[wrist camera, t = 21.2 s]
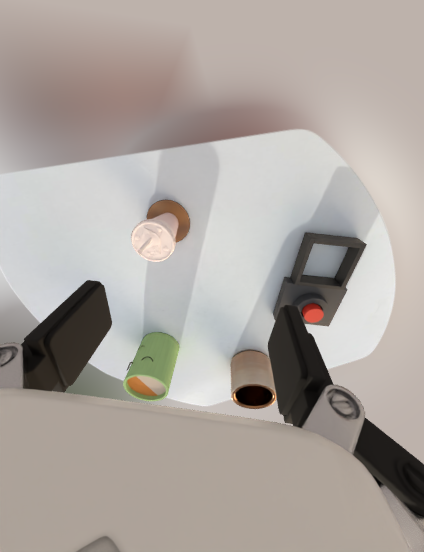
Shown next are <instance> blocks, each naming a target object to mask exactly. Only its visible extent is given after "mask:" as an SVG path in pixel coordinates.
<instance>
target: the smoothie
mask: <svg viewBox="0 0 424 552" xmlns="http://www.w3.org/2000/svg"><path fill="white" fill-rule="evenodd" d="M178 225H179V223H178V219H177V218H176V216H175V215H173V214H171V213H164V214H161V215H159V216H157V217H155V218H153V219H147V220H143V221H141V222H140V223H139V224H138V225H137V226H136V227H135V228H134V229H133V231H132V235H131V241H132V245H133V247H134V249H135V251H136V252H137V253H138V254H139V255H140V256H141V257H143V258H145V259H147V260H149V261H154V262H158V261H163V260H165V259H167V258H168V257H169V256H170V255H171V254H172V252H173V251H174V249H175V245H176V244H175V237H176V233H177V229H178Z"/></svg>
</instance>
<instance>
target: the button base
mask: <svg viewBox="0 0 424 552" xmlns="http://www.w3.org/2000/svg"><path fill="white" fill-rule="evenodd" d="M346 291H347V288H346V287H345V289H344V290H337V289H328V288H319V287H310V286H301V285H294V283H293V281H292V279H291V278H287V277H284V280H283V284H282V287H281V290H280V293H279V296H278V300H277V303H276V306H275V309H274V312H273V315H274V319H275V320H276V318H277V316H278V313H279V310H280V308H281V307H284V305H292V306H297V307H298V310H299V312H300V315H301V317H302V320H303V322H304V324H313V325H322V326H329V325H330V323H331V321H332V319H333V317H334V315H335V313H336V311H337V309H338V307H339V305H340V303H341V301H342V299H343V297H344V295H345V293H346ZM311 303H315V304H318V305H319V306H320V308H321V309H322V311H323V313H324V316H323V318H322V319H321V320H320V321H318V322H314V323H311V322H308V321H306V320H305V318H304V316H303V313H302V309H303V307H304V306H306V305H308V304H311Z"/></svg>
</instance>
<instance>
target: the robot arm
mask: <svg viewBox="0 0 424 552" xmlns="http://www.w3.org/2000/svg"><path fill="white" fill-rule="evenodd" d="M111 325H112V320H111V315H110V311H109V306H108V302H107V297H106V292H105V288H104V285H102V284H101V283H100V282H99V281H91V280H87V281H86V282H85V283H84V284H83V285H82V286H80V287H79V288H78V289H77V290H76V291H75V292H74V293H73V294H72V295H71V296H70V297H69V298H68V299H66V300H65V301H64V302H63V303H62V304H61V305H60V306H59V307H58V308H57V309H56V310H55V311H53V312H52V313H51V314H50V315H49V316H48V317H47V318H46V319H45V320H44V321H43V322H42V323H41V324H39V325H38V326H37V327H36V328H35V329H34V330H33V331H32V332H31V333H30V334H29V335H28V336H27V337H26V338H24V340H25V341H24V342H23V343H22V344H21V345H20V344H19V343H15V342H13V343H4V344H0V552H424V464H423V463H421V462H420V461H419V460H418V459H417V458H415V457H414V456H413V455H412V454H410V453H409V452H408V451H406V450H405V449H404V448H403V447H401V446H400V445H399V444H398V443H396V442H395V441H394V440H393V439H391V438H390V437H389V436H387V435H386V434H385V433H384V432H382V431H381V430H380V429H379V428H378V427H376V426H375V425H374V424H372V423H371V422H370V421H369V420H368V419H366V418H365V411H364V408H363V406H362V404H361V402H360V401H359V399H358V398H357V397H356V396H355V395H354V394H353V393H352V392H350V391H349V390H347V389H346V388H344V387H342V386H338V385H333V382H332V380H331V378H330V376H329V373H328V370H327V368H326V366H325V363H324V361H323V359H322V356H321V354H320V352H319V349H318V347H317V344H316V342H315V340H314V337H313V336H312V334H310V333H308V332H307V329H306V327H305V324H304V322H303V320H302V317H301V315H300V312H299V310H298V307H297V306H292V305H284V307H281V308H280V310H279V313H278V316H277V318H276V321H275V324H274V327H273V330H272V333H271V336H270V339H269V342H268V351H269V357H270V362H271V368H272V374H273V379H274V385H275V391H276V397H277V402H278V408H279V412H280V414H282V415H283V416H284V421H285V423H291V424H293V426H291V425H286V424H281V423H276V422H270V421H264V420H257V419H251V418H245V417H238V416H232V415H224V414H217V413H210V412H203V411H195V410H189V409H182V408H175V407H167V406H160V405H152V404H145V403H138V402H131V401H123V400H116V399H108V398H100V397H93V396H85V395H77V394H70V393H64V392H65V391H66V389H67V388H68V386H71V385H72V384H73V383H74V382H75V380H76V379H77V377H78V376H79V374H80V373H81V371H82V370H83V368H84V367H85V365H86V364H87V362H88V361H89V359H90V358H91V356H92V355H93V354H94V352H95V351H96V349H97V348H98V346H99V345H100V343H101V342H102V340H103V339H104V337H105V336H106V334H107V333H108V331H109V330H110V328H111ZM52 391H55V392H52ZM61 392H63V393H61Z"/></svg>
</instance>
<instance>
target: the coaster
mask: <svg viewBox="0 0 424 552" xmlns="http://www.w3.org/2000/svg"><path fill="white" fill-rule="evenodd" d="M164 213H171V214H173V215H175V216H176V218H177V219H178V223H179V225H178V229H177V233H176V237H175V242H179V241H181V240H182V239H183V238H184V237H185V236H186V235H187V233H188V231H189V228H190V219H189V216H188V214H187V212H186V210H185V209H184V208H183V207H182V206H181V205H180V204H178V203H177V202H174V201H171V200H161V201H158V202H156V203H154V204H153V205H152V206H151V207H150V209H149V211H148V213H147V219H153V218H155V217H157V216H159V215H161V214H164Z"/></svg>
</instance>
